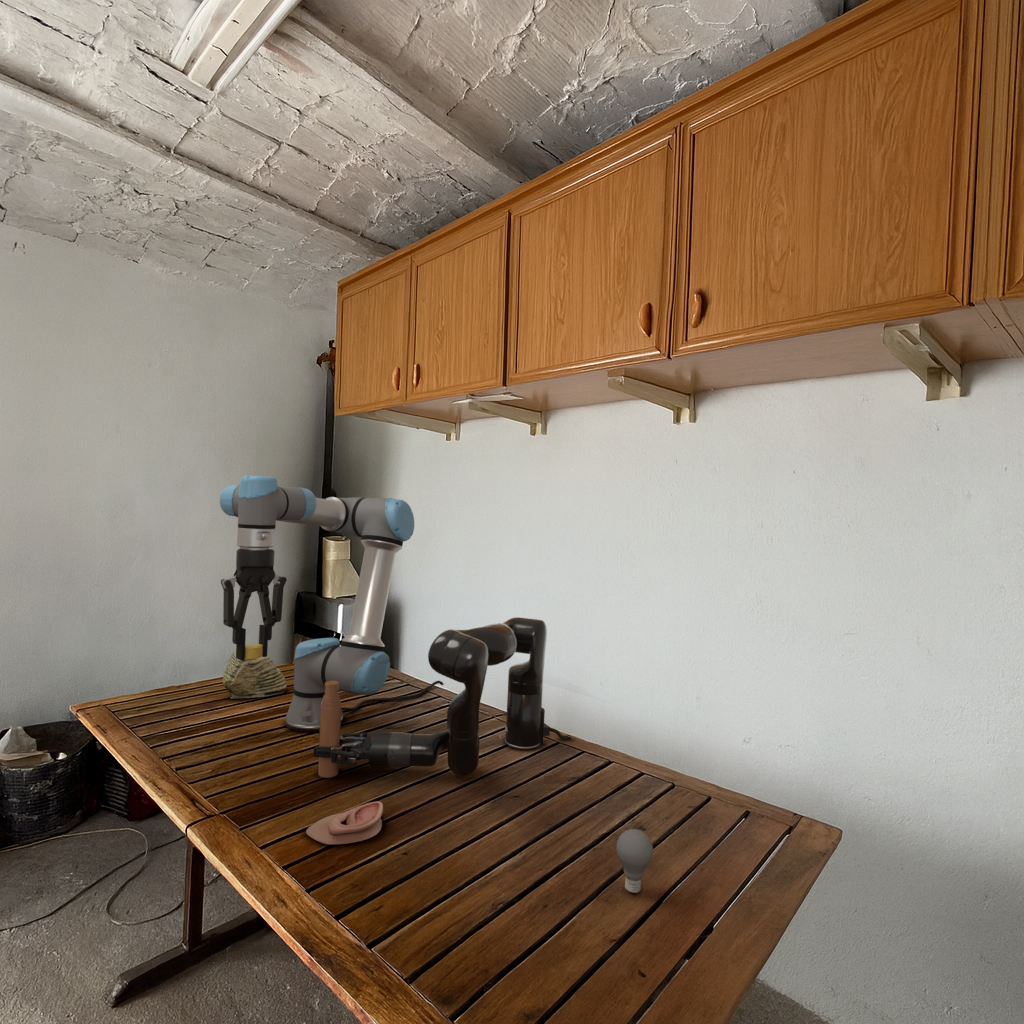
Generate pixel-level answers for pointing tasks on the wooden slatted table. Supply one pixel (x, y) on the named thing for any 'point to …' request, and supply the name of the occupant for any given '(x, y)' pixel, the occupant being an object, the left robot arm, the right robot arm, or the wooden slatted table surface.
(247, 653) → the cap
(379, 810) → the anatomical model
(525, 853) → the wooden slatted table surface
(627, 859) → the light bulb
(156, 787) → the wooden slatted table surface
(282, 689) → the fossil
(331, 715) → the bottle
